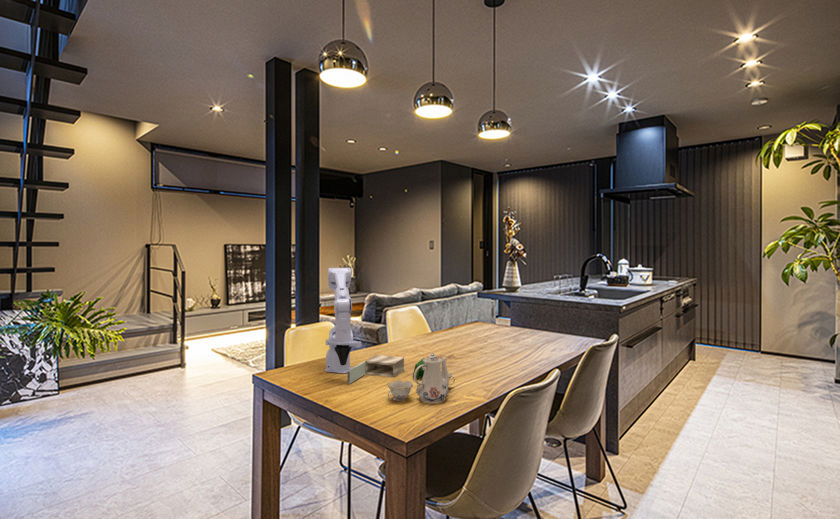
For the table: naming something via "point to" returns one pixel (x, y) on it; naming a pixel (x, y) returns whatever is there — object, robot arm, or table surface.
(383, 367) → the cabinet
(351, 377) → the door
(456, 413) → the table surface
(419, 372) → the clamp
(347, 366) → the robot arm
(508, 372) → the table surface
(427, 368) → the chinaware
